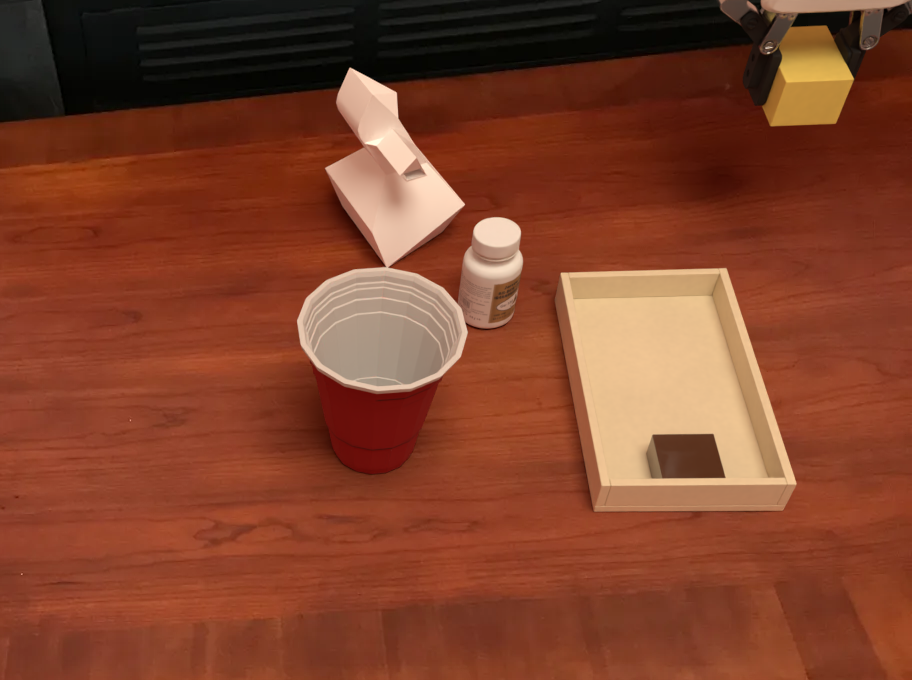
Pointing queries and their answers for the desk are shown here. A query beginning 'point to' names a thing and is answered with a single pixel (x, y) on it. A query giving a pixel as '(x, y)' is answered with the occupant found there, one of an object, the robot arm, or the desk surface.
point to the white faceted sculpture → (388, 175)
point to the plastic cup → (379, 359)
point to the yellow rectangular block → (808, 79)
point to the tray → (668, 389)
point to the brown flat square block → (684, 456)
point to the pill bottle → (491, 273)
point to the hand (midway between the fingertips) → (792, 91)
